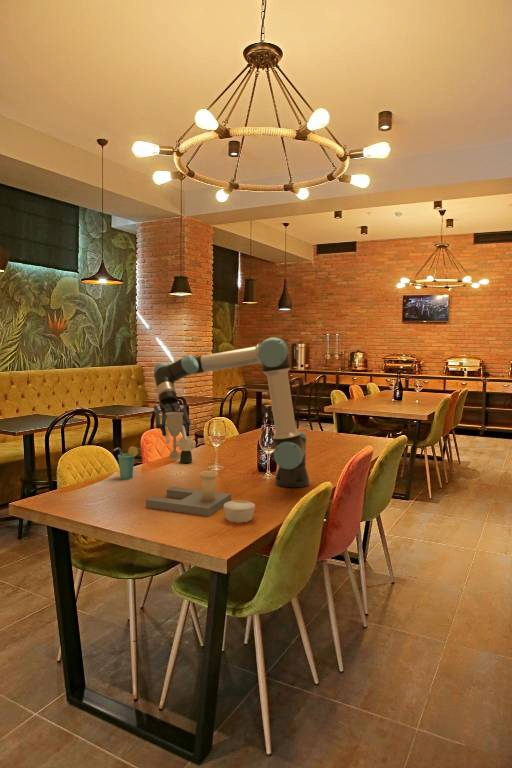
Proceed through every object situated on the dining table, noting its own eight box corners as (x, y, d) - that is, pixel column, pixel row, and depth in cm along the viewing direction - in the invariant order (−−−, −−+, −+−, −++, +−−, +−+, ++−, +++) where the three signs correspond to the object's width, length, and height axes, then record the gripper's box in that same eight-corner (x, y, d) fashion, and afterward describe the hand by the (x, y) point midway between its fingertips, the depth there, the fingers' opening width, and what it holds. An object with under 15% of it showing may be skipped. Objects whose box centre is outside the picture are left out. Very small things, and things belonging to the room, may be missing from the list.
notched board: (231, 501, 216) (231, 468, 214) (208, 516, 197) (208, 480, 196) (172, 493, 225) (172, 462, 224) (146, 507, 206) (146, 473, 205)
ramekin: (254, 514, 201) (254, 500, 200) (255, 524, 190) (255, 509, 189) (223, 514, 200) (223, 499, 200) (222, 524, 189) (223, 509, 189)
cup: (120, 483, 240) (119, 449, 239) (107, 480, 244) (107, 447, 243) (142, 476, 252) (142, 444, 251) (129, 474, 256) (129, 442, 255)
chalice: (168, 460, 215) (168, 415, 214) (163, 456, 222) (163, 412, 220) (186, 458, 219) (186, 414, 217) (180, 455, 225) (180, 411, 223)
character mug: (198, 462, 283) (198, 437, 282) (192, 465, 276) (192, 439, 275) (179, 460, 286) (179, 435, 285) (173, 463, 280) (173, 437, 278)
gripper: (188, 400, 236) (198, 445, 222) (143, 401, 229) (151, 448, 215) (191, 389, 230) (202, 434, 217) (145, 390, 223) (153, 437, 210)
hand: (176, 441), depth 216 cm, fingers closed on chalice, 6 cm apart
